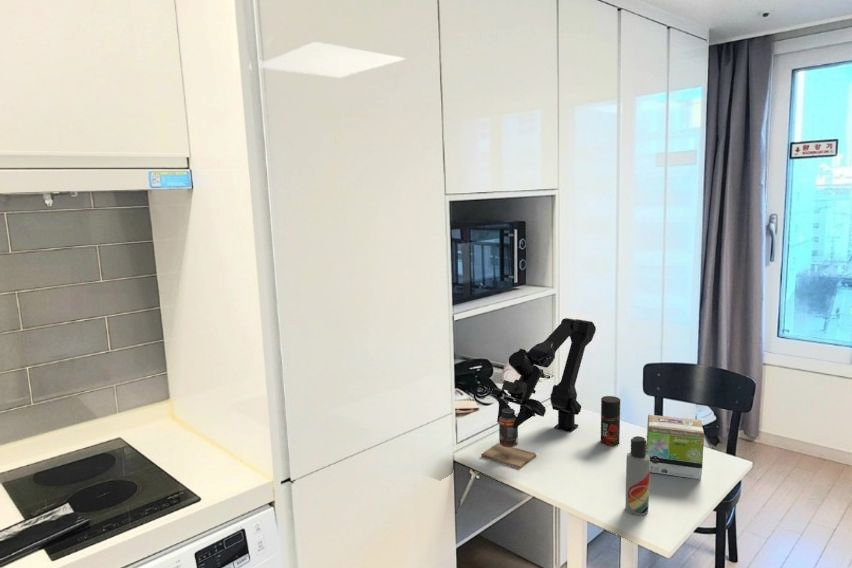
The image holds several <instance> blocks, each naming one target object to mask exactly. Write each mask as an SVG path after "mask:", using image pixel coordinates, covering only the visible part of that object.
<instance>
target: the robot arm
mask: <svg viewBox="0 0 852 568" xmlns="http://www.w3.org/2000/svg"><path fill="white" fill-rule="evenodd" d="M596 331H597V328H596V326H595V324H594V322H593V321H590V320H583V319H573V318H569V317H568V318H567V317H566V318H563V319H561V323H560V324H559V325H558V326H557V327H556V328H555V329H554V330H553V331H552V332H551V333H550V335H548V337H547V338H546V339H545V340H544V341H543V342H539V343H537V344H535V345H534V346H532V347H531V348H530V349H529V351H527V350H526V349H525V348H524V349H523V348H519V350H518V351H515V352H513V353H512V354H511V355H510V356H509V358H508V365H510V367H511V368H512V369H513V370H514V371H515V372H516V373H517V374H518V375H519V378H518V379H516V378H515V380H514V381H513V382H512V381H509V380H503V383H502V387H501V388H498V387H494V388H492V390H491V391H490V396H492V397H493V399H494V400H495V401H496V402H498V410H497V411H498V412H497V418H496V419H497V421H496V422H497V424H499V417H500V416H501V415H502V410H503V409H505V408H511V406H510V405H509V403H512V404H515V405H518V406H519V412H518V414H517V418H516V420H515V422H514V424H513V428H514V429H515V428H517V427H518V428H519V426H520V425H522V424H524V423H525V422H526V421H527V420H530V418H532V417H534V418H535V417H536V416H539V417H544V416H545V414H546V413H547V408H546V406H545V405H544V404H542V402H541V401H540V400H537V399H534V398H531V396H532V394H534V395H535V394H536V392H537V390H536V389H535V388H536V386H537V384H538V383H539V381H540V379H541V378H542V379H545V373H544V370H543V369H542V368H547V369H548V368H549V367H550V366H551V365H552V363H553V362H554V360H555V358H556V352H557V351H558V349H559V348H560V347H561V346H562V345H563V344H564V343H565V342H566V340H567V339H568V338H569V339H570V342H571V343H570V345H569V346H570V347H569V351H568V353H567V354H568V355H567V356H566V361H565V365H564V368H563V372H562V375H561V379H560V382H558V383H557V384H554V385H553V386H552V389H551V393H550V398H549V399H550V403H551V407H552V408H551V409H552V410H555V411H557V424H555V426H553V428H554V429H557V430H561V431H565V432H568V433H572V432H574V431H575V429H577V428H579V424H576V422H575V420H576V419H575V418H576V415H577V416H578V415H580V413H581V410H582V405H581V403H579V401H578V400H577V396H578V392H577V390H576V383H577V380H578V375H579V371H580V368H581V363H582V360H583V357H584V352H585V351H586V350H585V349H586V346H588V345H589V344H590V343H591V342H592V341H593V338H594V336H595V334H596ZM539 367H540V368H539ZM541 367H542V368H541ZM506 391H507V392H506Z"/></svg>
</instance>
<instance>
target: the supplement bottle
mask: <svg viewBox="0 0 852 568" xmlns="http://www.w3.org/2000/svg"><path fill="white" fill-rule="evenodd" d="M515 412H516V411H515V409H514V408H513V407H512V408H505V409H503V410H502V415H501V416H500V417H499V423H498V433H499V435H498V437H499V438H498V440H499V442H498V443H500V444H501V445H502V446H504V447H514V448H515V447H516V446H517V445H519V426H518V427H517V428H515V429H514V428H513V424H514V422H515V420H516V418H517V416H518V415H517V416H516V415H515V414H516V413H515Z"/></svg>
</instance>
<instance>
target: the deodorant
mask: <svg viewBox="0 0 852 568" xmlns="http://www.w3.org/2000/svg"><path fill="white" fill-rule="evenodd" d="M600 401H601V402H600V405H601V407H600V408H601V409H600V443H601V444H602V445H603V444H604V446H606V445H607V446H606V447H617V446H619V445H620V438H621V437H620V434H621V431H620V429H621V398H619V397H617V396H612V395H605V396H602V397H601V398H600ZM618 444H619V445H618ZM616 445H617V446H616Z"/></svg>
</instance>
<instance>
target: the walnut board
mask: <svg viewBox="0 0 852 568" xmlns="http://www.w3.org/2000/svg"><path fill="white" fill-rule="evenodd" d="M480 455H481V458H483V459H485V460H486V459H487V460H490V461H493V462H496V463H499V464H502V463H503V464H502V465H505V464H506V465H505V466H509V465H510V466H509V467H512V466H513V468H515V467H516V468H515V469H518V468H519V470H521V469H523V468H524V467H525V466H526V465H527V464H529V463H530V462H532V460H534V459H535V458H536V457H537V453H534V452H532V451H528V450H524V449H521V448H518V447H515V446H514V447H504V446H502V445H501V444H500V442H497V443H496V444H494V445H493V446H491V447H490V448H488V449H487V450H485V451H484V452H482V453H481V454H480Z"/></svg>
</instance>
